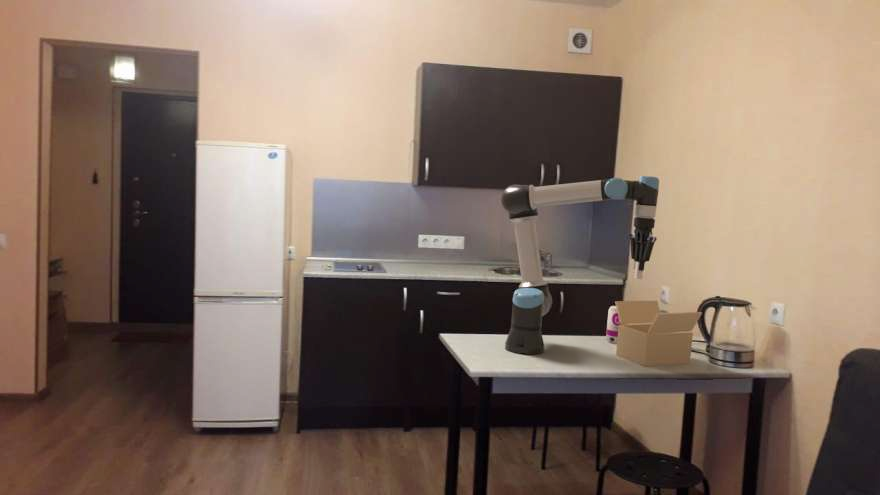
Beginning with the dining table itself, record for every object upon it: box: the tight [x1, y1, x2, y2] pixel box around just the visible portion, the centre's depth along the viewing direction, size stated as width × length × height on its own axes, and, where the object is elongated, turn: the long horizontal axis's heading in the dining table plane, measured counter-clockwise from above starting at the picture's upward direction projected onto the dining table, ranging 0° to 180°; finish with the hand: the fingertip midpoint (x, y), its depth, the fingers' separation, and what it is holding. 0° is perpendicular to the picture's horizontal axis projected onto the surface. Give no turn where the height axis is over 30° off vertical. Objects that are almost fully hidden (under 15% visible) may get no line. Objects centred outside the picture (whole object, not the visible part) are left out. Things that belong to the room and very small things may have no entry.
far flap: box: [614, 300, 660, 325], centre depth 254 cm, size 21×9×1 cm
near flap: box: [648, 311, 703, 333], centre depth 236 cm, size 21×9×1 cm
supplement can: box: [605, 305, 628, 345], centre depth 272 cm, size 8×8×15 cm
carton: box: [615, 323, 694, 367], centre depth 246 cm, size 22×16×12 cm
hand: (637, 278), depth 244 cm, fingers closed
